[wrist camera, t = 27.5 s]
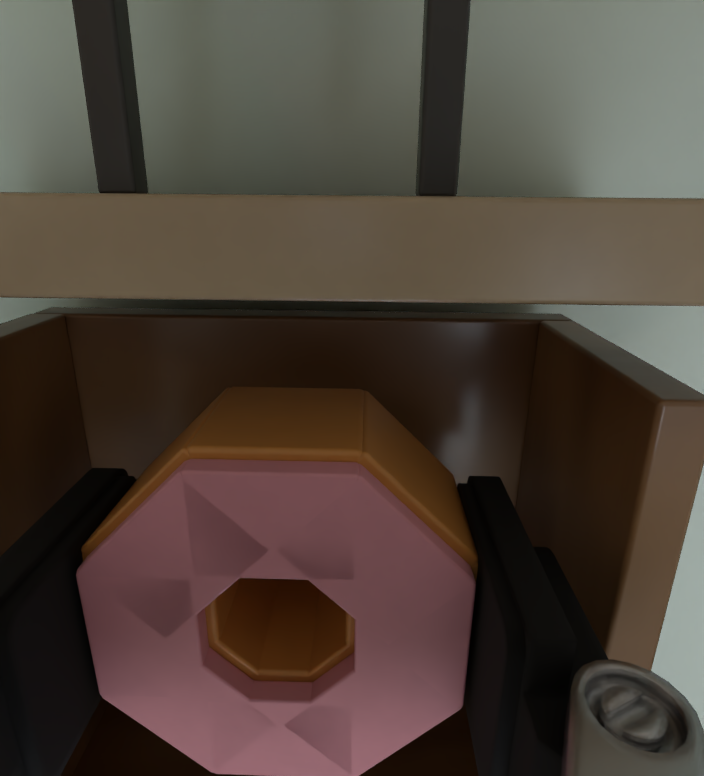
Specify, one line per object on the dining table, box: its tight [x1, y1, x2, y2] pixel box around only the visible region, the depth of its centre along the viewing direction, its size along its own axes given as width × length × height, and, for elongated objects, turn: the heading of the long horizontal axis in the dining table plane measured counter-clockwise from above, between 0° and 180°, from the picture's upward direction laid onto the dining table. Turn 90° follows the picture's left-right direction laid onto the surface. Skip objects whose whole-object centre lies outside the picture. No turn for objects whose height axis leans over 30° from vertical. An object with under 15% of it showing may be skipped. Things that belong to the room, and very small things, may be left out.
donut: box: [76, 387, 478, 776], centre depth 9 cm, size 6×6×3 cm
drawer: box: [0, 0, 704, 776], centre depth 10 cm, size 19×13×6 cm
